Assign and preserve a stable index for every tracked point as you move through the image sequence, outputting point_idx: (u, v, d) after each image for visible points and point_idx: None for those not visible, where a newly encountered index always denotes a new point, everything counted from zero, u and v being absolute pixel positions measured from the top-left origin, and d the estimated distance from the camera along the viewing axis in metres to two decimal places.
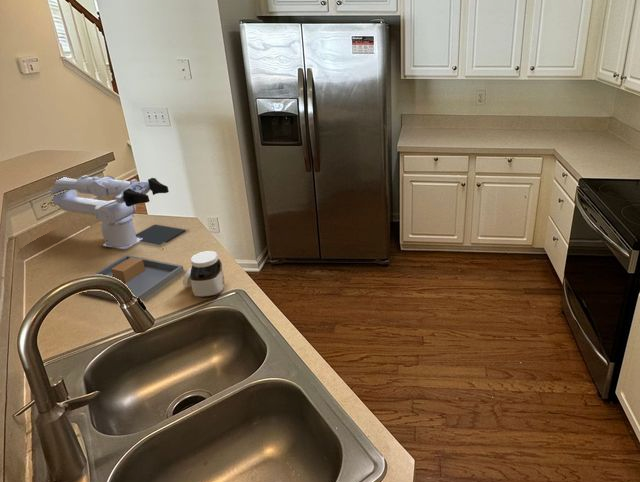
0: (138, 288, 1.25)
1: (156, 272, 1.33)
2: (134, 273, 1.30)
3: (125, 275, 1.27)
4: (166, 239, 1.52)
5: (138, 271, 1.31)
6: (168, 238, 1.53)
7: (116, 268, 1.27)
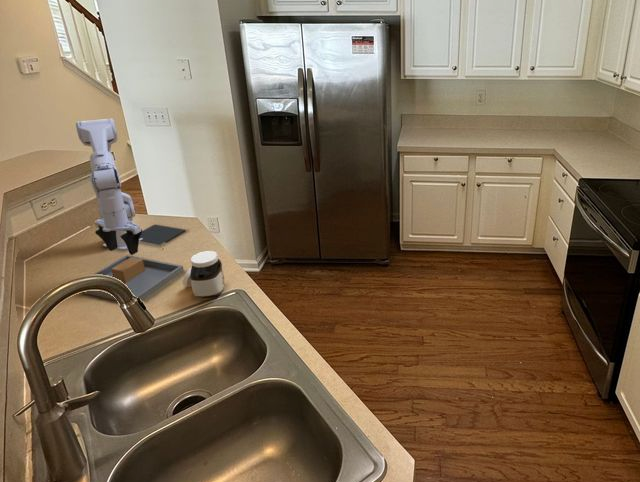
0: (138, 288, 1.25)
1: (156, 272, 1.33)
2: (134, 273, 1.30)
3: (125, 275, 1.27)
4: (166, 239, 1.52)
5: (138, 271, 1.31)
6: (168, 238, 1.53)
7: (116, 268, 1.27)
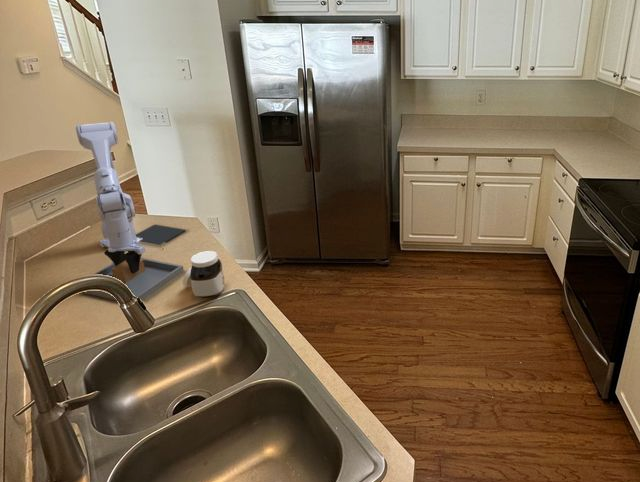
0: (138, 288, 1.25)
1: (156, 272, 1.33)
2: (134, 273, 1.30)
3: (125, 275, 1.27)
4: (166, 239, 1.52)
5: (138, 271, 1.31)
6: (168, 238, 1.53)
7: (116, 268, 1.27)
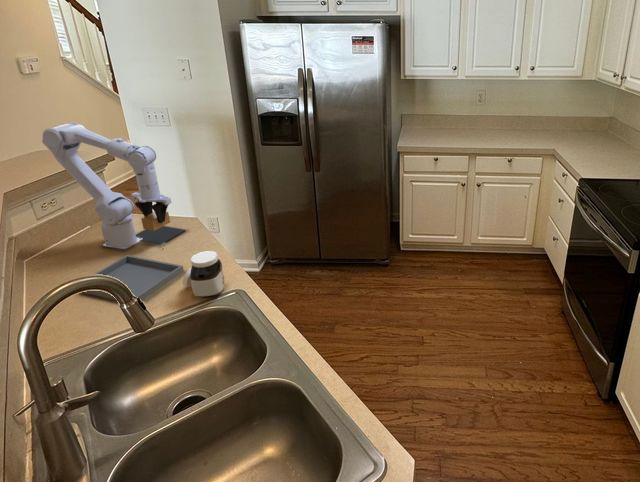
0: (138, 288, 1.25)
1: (156, 272, 1.33)
2: (161, 223, 1.46)
3: (153, 224, 1.43)
4: (166, 239, 1.52)
5: (164, 222, 1.47)
6: (168, 238, 1.53)
7: (145, 218, 1.43)
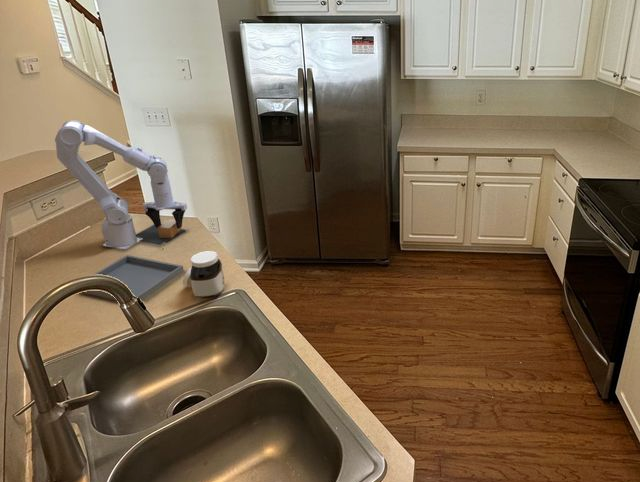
0: (138, 288, 1.25)
1: (156, 272, 1.33)
2: (175, 230, 1.56)
3: (171, 231, 1.53)
4: (166, 239, 1.52)
5: (178, 229, 1.57)
6: (168, 238, 1.53)
7: (162, 227, 1.52)
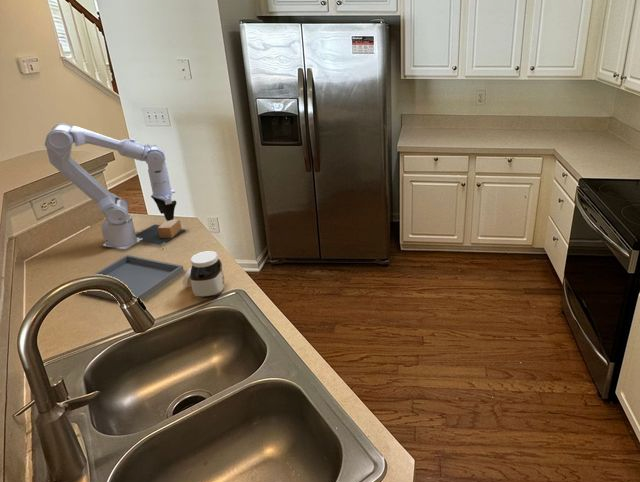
0: (138, 288, 1.25)
1: (156, 272, 1.33)
2: (175, 230, 1.56)
3: (171, 231, 1.53)
4: (166, 239, 1.52)
5: (178, 229, 1.57)
6: (168, 238, 1.53)
7: (162, 227, 1.52)
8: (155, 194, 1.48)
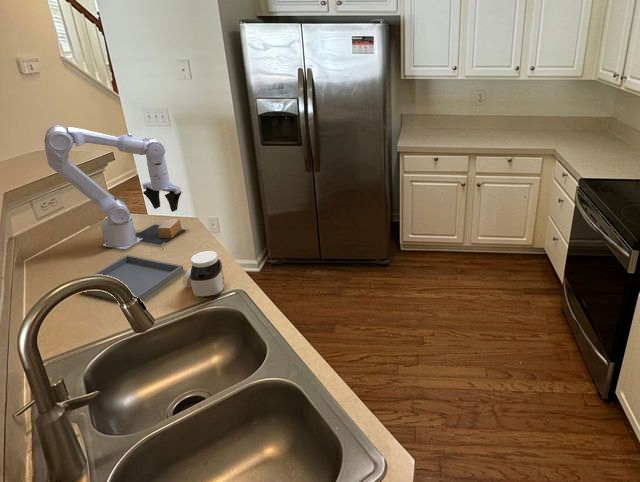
0: (138, 288, 1.25)
1: (156, 272, 1.33)
2: (175, 230, 1.56)
3: (171, 231, 1.53)
4: (166, 239, 1.52)
5: (178, 229, 1.57)
6: (168, 238, 1.53)
7: (162, 227, 1.52)
8: (158, 187, 1.49)
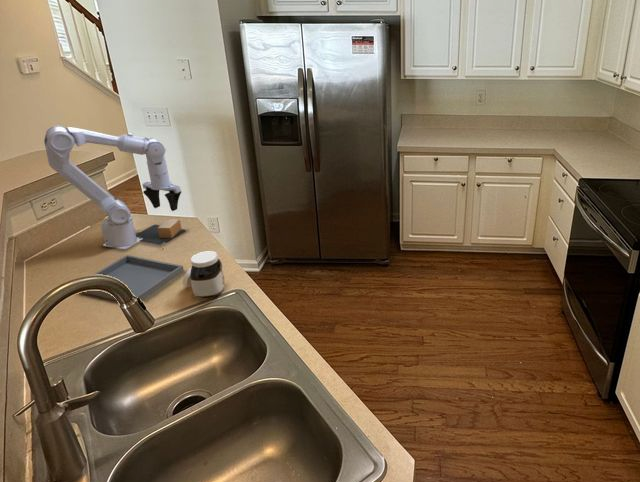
0: (138, 288, 1.25)
1: (156, 272, 1.33)
2: (175, 230, 1.56)
3: (171, 231, 1.53)
4: (166, 239, 1.52)
5: (178, 229, 1.57)
6: (168, 238, 1.53)
7: (162, 227, 1.52)
8: (158, 186, 1.50)
